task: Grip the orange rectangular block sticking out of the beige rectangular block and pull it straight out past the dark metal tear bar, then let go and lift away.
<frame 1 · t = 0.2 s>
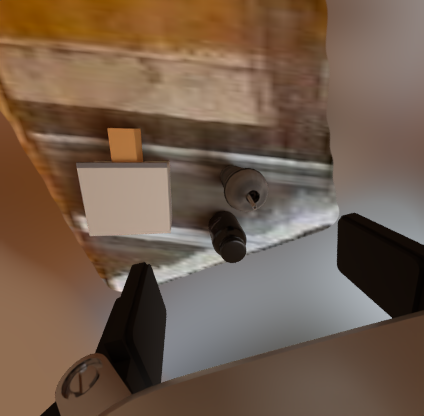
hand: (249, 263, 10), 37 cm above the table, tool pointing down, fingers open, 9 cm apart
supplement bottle: (222, 224, 50), on the table
orange rectangular block: (129, 163, 39), point 4 cm above the table, slide at 0.0 cm
beverage cup: (230, 175, 47), on the table
beige rectangular block: (136, 190, 45), on the table
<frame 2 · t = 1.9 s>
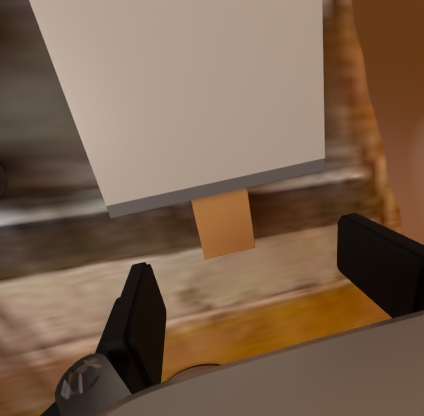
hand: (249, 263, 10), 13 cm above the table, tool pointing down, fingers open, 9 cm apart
orange rectangular block: (210, 171, 18), point 4 cm above the table, slide at 0.0 cm
beige rectangular block: (192, 98, 19), on the table
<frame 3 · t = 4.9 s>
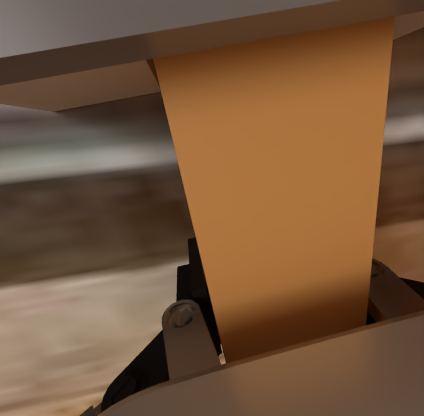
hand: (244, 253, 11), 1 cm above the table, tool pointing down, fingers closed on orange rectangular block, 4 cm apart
orange rectangular block: (249, 196, 7), point 4 cm above the table, slide at 4.3 cm, touching gripper
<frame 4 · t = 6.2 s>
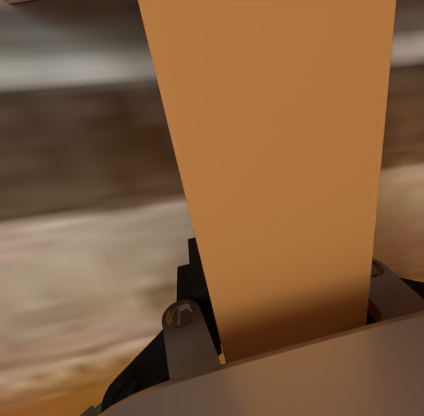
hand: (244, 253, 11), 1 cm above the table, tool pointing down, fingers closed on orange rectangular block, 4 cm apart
orange rectangular block: (249, 196, 7), point 4 cm above the table, slide at 8.0 cm, touching gripper
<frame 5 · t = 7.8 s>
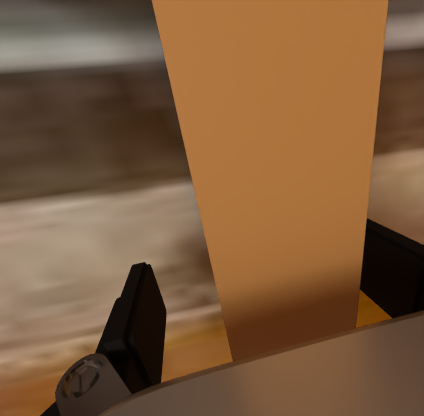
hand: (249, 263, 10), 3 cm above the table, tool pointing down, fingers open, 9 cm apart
orange rectangular block: (249, 175, 8), point 4 cm above the table, slide at 8.0 cm
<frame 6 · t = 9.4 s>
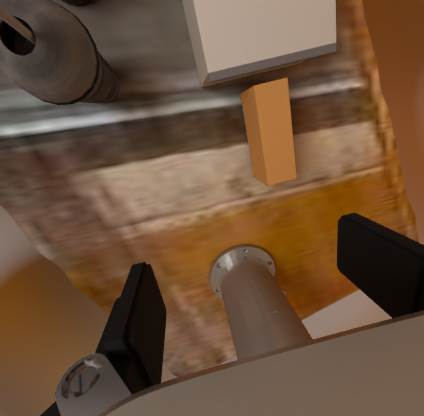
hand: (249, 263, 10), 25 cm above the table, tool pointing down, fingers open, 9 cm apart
orange rectangular block: (267, 135, 29), point 4 cm above the table, slide at 8.0 cm
beverage cup: (101, 84, 28), on the table
beige rectangular block: (242, 23, 28), on the table
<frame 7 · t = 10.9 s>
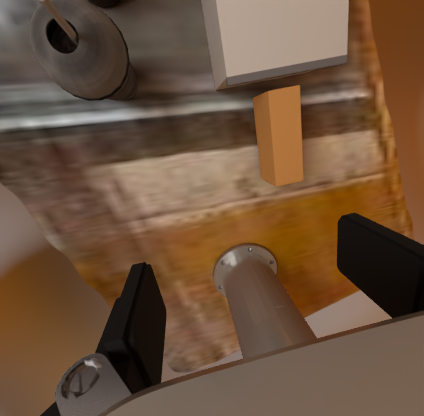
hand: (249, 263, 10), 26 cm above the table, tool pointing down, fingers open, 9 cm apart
orange rectangular block: (277, 138, 31), point 4 cm above the table, slide at 8.0 cm
beverage cup: (120, 82, 30), on the table
beige rectangular block: (257, 32, 30), on the table
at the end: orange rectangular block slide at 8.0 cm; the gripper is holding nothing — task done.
